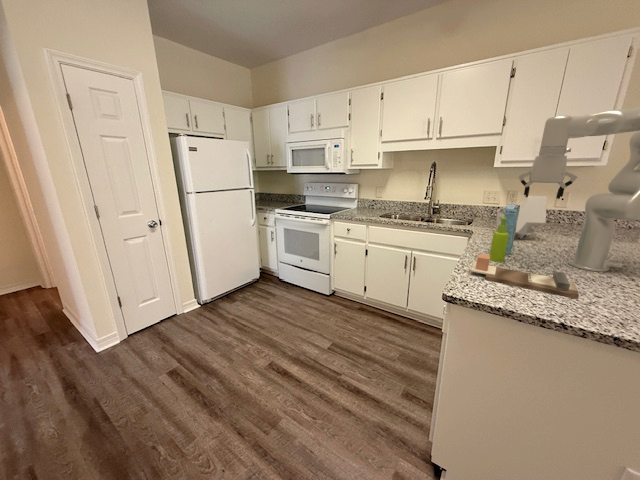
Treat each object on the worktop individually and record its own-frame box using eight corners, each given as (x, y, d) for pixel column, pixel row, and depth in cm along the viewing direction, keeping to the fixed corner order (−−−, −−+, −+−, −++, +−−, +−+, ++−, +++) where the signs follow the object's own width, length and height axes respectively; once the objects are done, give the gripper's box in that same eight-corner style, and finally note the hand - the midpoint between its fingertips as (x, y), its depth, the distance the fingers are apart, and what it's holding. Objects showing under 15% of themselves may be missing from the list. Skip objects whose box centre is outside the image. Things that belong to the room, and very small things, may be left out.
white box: (504, 236, 154) (506, 195, 155) (493, 239, 169) (495, 201, 171) (545, 239, 149) (546, 196, 151) (529, 241, 165) (531, 202, 166)
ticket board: (570, 284, 97) (573, 274, 96) (577, 299, 86) (581, 287, 85) (488, 269, 111) (489, 259, 110) (485, 279, 101) (487, 269, 99)
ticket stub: (496, 268, 108) (498, 255, 106) (494, 276, 100) (497, 262, 99) (474, 264, 112) (476, 251, 111) (471, 271, 105) (473, 258, 103)
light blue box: (508, 255, 129) (518, 209, 123) (496, 253, 132) (505, 208, 126) (512, 247, 143) (521, 205, 137) (501, 245, 146) (509, 204, 140)
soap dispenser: (500, 258, 125) (509, 216, 120) (505, 262, 119) (514, 219, 114) (486, 256, 127) (494, 216, 122) (490, 261, 121) (498, 218, 115)
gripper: (581, 151, 97) (569, 198, 101) (523, 153, 107) (514, 195, 111) (585, 150, 91) (573, 200, 95) (523, 152, 101) (514, 197, 105)
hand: (541, 197), depth 103 cm, fingers open, 9 cm apart
